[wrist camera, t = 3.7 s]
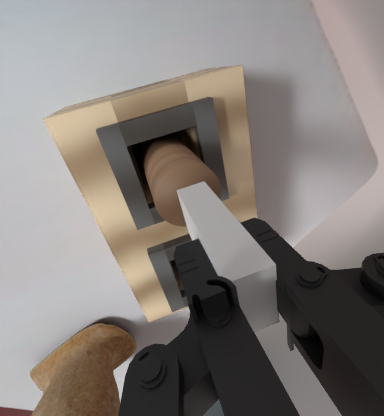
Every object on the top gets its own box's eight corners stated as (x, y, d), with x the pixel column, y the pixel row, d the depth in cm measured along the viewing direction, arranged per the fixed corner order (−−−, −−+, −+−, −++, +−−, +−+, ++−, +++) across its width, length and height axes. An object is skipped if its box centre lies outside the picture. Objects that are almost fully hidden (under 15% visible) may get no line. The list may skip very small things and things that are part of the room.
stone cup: (91, 302, 34) (76, 439, 21) (145, 336, 40) (158, 458, 27) (7, 362, 34) (-57, 529, 22) (72, 386, 41) (52, 527, 28)
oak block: (65, 107, 22) (38, 121, 15) (206, 69, 24) (249, 64, 16) (142, 273, 34) (149, 330, 26) (235, 239, 35) (268, 283, 28)
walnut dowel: (134, 140, 20) (144, 176, 13) (178, 126, 21) (214, 154, 13) (148, 182, 23) (165, 235, 15) (189, 169, 23) (225, 214, 15)
